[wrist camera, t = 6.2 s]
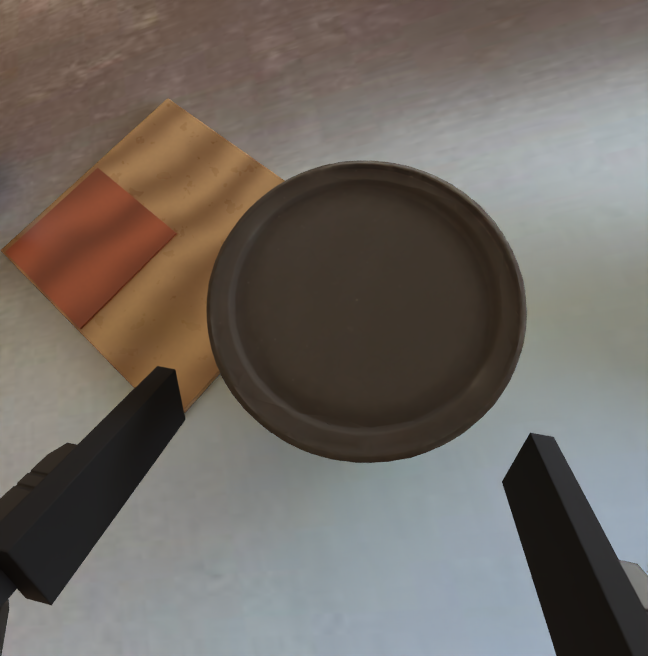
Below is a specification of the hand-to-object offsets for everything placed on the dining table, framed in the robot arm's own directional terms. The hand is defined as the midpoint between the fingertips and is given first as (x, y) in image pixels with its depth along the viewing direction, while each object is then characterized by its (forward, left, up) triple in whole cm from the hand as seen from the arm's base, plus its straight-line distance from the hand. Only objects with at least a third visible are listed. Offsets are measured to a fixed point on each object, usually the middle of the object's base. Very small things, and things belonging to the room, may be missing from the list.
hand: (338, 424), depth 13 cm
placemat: (+20, -2, -11) cm, 23 cm away
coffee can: (+2, -4, -11) cm, 12 cm away
